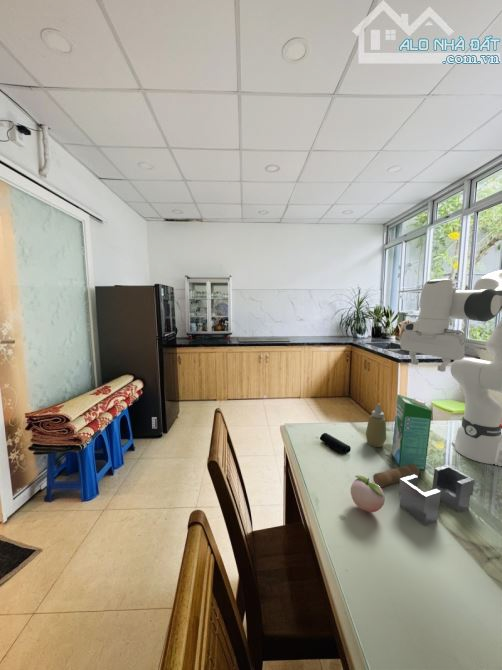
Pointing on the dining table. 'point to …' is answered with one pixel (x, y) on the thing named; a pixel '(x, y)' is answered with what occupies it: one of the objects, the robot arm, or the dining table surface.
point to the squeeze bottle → (376, 428)
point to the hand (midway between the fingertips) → (427, 367)
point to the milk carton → (411, 432)
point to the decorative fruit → (367, 494)
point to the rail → (395, 475)
